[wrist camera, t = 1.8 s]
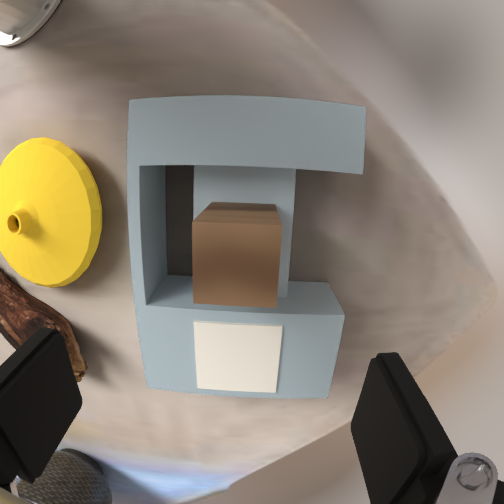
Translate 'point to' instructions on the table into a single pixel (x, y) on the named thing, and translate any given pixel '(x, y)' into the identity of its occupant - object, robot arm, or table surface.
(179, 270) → the table surface
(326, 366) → the slot box
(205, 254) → the walnut block
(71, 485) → the planter
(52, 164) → the yellow piece
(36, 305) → the driftwood
